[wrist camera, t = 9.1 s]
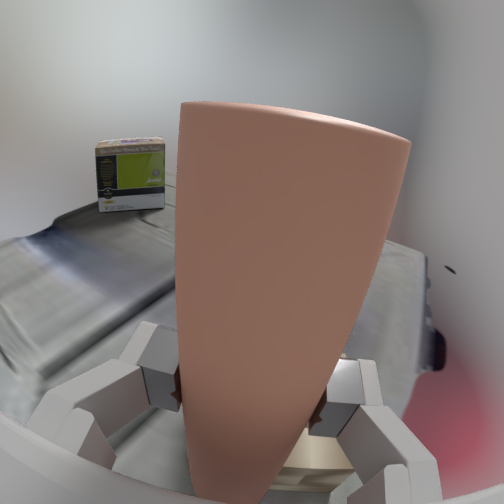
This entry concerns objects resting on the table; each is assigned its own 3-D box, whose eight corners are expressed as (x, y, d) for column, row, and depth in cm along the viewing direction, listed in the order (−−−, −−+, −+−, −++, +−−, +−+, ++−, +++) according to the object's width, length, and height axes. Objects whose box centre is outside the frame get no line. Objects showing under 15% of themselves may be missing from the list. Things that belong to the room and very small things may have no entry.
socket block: (190, 476, 21) (186, 451, 18) (216, 374, 31) (218, 335, 28) (330, 492, 20) (357, 468, 17) (327, 390, 30) (345, 353, 28)
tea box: (161, 194, 75) (163, 135, 67) (165, 209, 67) (166, 143, 59) (102, 197, 69) (100, 138, 62) (98, 213, 61) (94, 146, 54)
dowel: (184, 503, 10) (136, 108, 3) (200, 444, 13) (214, 100, 6) (262, 518, 10) (453, 162, 3) (271, 456, 13) (378, 127, 6)
